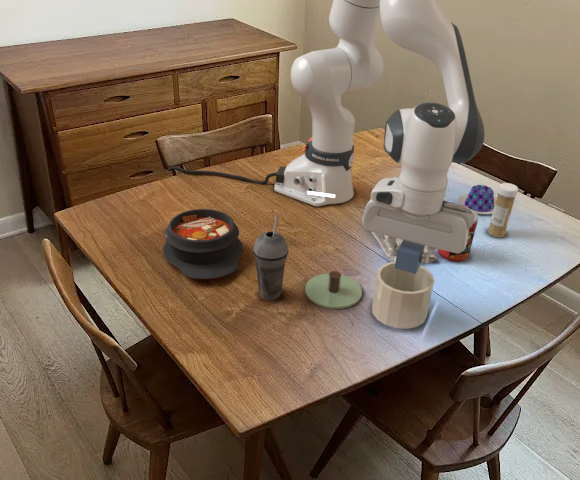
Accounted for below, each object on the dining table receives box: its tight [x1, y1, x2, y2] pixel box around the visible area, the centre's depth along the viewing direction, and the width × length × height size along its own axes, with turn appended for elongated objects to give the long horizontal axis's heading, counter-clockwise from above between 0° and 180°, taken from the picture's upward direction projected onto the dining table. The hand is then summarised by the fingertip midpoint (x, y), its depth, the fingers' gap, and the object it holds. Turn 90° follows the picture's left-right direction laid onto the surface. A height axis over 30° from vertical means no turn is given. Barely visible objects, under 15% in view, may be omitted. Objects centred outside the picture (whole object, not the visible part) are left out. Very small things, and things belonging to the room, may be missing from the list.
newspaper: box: [361, 217, 438, 264], centre depth 151 cm, size 23×12×2 cm, turn 14°
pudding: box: [457, 184, 497, 215], centre depth 167 cm, size 12×12×5 cm
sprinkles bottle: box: [487, 182, 519, 238], centre depth 153 cm, size 5×5×14 cm
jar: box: [371, 261, 435, 330], centre depth 126 cm, size 11×11×10 cm
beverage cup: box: [252, 213, 289, 301], centre depth 125 cm, size 7×7×20 cm
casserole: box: [162, 208, 244, 280], centre depth 140 cm, size 25×19×8 cm
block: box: [395, 240, 425, 274], centre depth 120 cm, size 4×4×4 cm
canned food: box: [437, 208, 479, 263], centre depth 145 cm, size 8×8×11 cm
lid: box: [304, 270, 363, 310], centre depth 131 cm, size 12×12×5 cm
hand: (409, 258), depth 120 cm, fingers closed on block, 4 cm apart
